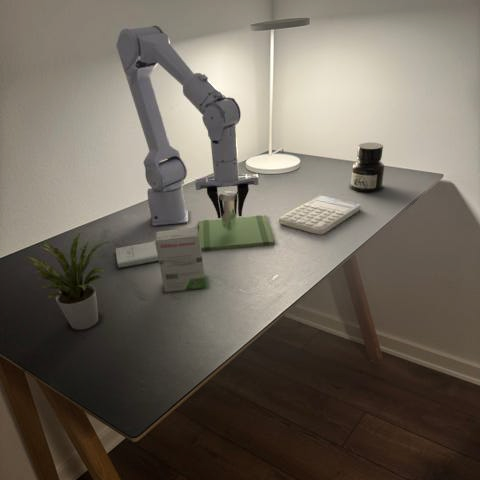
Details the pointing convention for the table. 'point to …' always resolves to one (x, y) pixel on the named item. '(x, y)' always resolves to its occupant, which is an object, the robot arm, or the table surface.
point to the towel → (235, 233)
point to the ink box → (180, 259)
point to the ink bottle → (368, 168)
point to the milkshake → (228, 209)
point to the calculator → (320, 214)
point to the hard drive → (136, 254)
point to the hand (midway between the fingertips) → (229, 215)
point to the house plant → (73, 285)
